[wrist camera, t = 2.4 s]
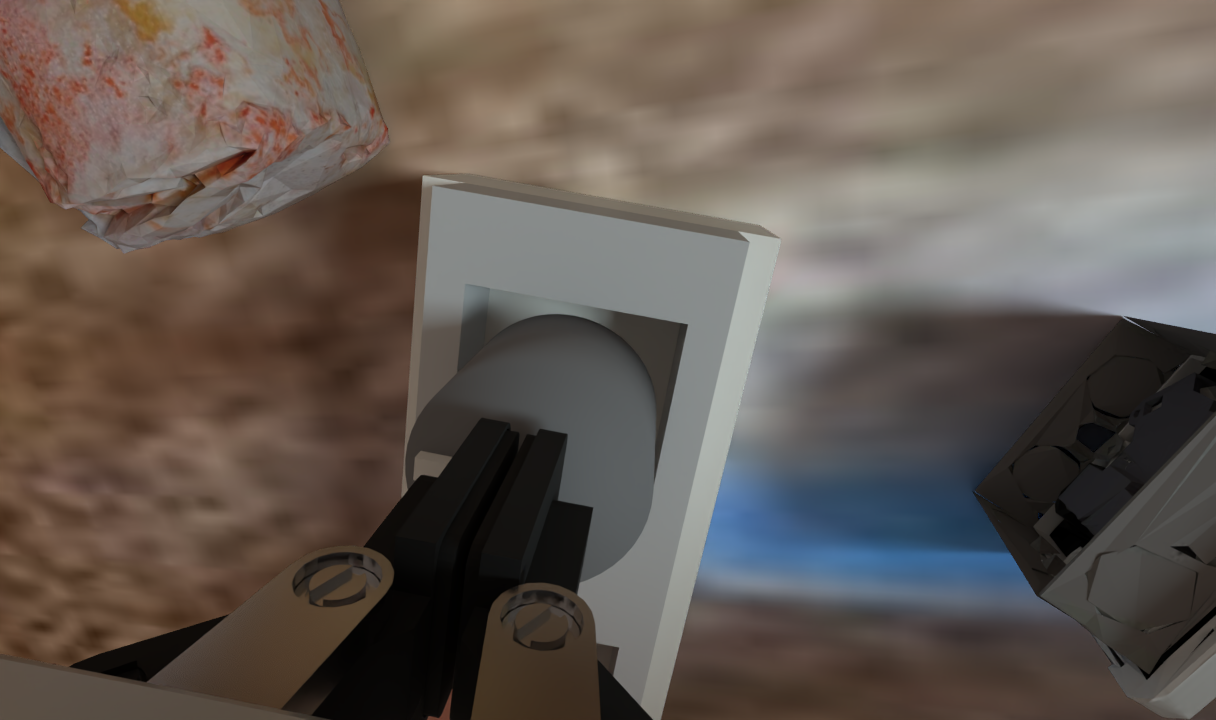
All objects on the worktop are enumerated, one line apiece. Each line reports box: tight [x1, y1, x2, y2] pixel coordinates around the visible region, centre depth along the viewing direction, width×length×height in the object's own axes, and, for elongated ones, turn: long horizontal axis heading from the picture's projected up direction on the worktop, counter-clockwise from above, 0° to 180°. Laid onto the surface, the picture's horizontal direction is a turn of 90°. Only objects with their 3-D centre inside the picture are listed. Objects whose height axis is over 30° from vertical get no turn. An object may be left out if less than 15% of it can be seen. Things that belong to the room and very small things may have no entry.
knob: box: [405, 314, 656, 582], centre depth 14 cm, size 5×5×4 cm
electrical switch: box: [972, 316, 1216, 720], centre depth 17 cm, size 9×5×9 cm, turn 152°
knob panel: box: [401, 174, 781, 720], centre depth 22 cm, size 10×30×6 cm, turn 171°
